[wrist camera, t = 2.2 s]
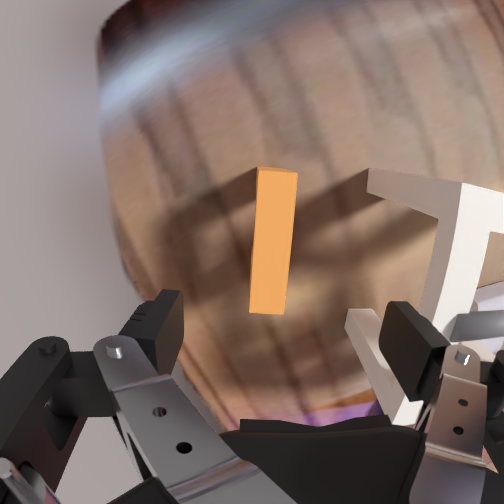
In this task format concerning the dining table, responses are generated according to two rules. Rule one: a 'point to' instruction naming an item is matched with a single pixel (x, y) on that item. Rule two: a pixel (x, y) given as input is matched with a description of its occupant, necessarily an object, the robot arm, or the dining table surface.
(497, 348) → the charger
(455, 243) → the white square table frame
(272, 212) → the orange arch block
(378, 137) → the dining table surface
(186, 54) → the dining table surface
